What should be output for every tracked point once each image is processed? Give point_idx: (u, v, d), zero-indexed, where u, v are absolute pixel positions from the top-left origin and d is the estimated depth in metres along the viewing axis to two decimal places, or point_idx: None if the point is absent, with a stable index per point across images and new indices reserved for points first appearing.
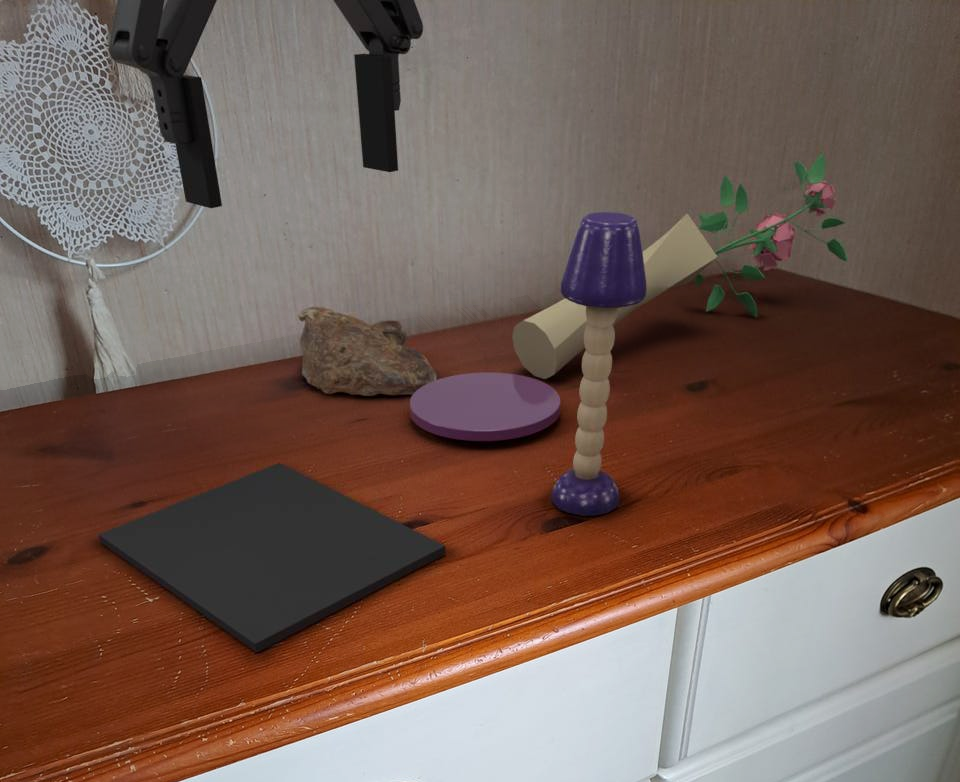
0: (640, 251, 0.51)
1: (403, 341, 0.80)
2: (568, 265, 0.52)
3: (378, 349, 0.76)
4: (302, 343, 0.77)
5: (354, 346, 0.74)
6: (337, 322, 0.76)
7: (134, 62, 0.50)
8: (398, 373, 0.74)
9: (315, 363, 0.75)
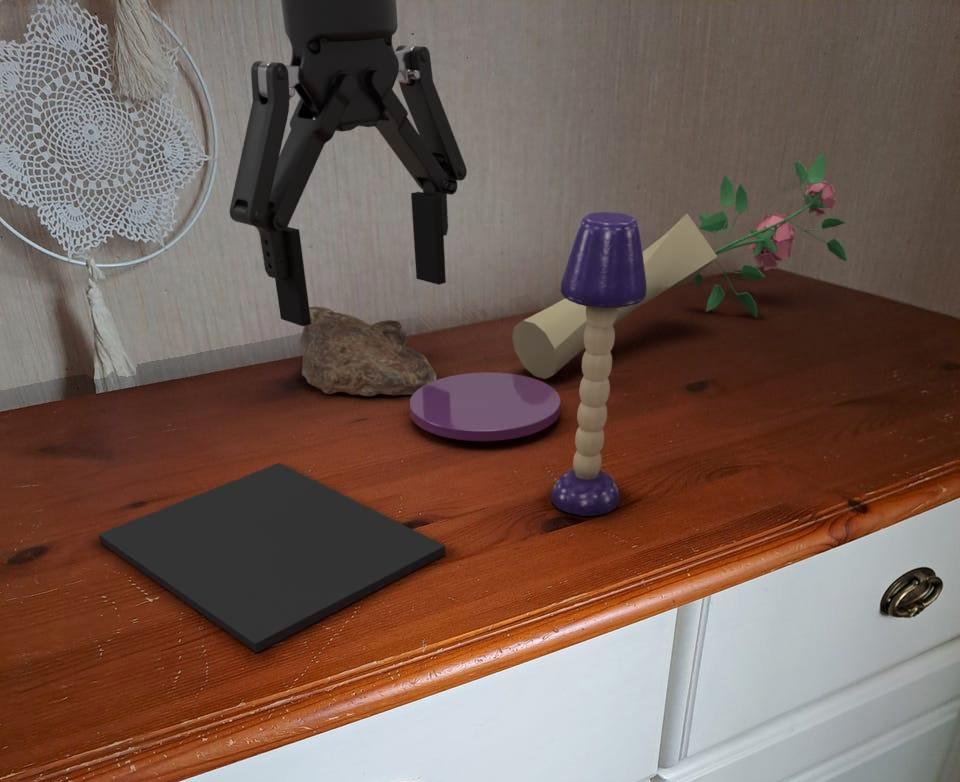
0: (640, 251, 0.51)
1: (403, 341, 0.80)
2: (568, 265, 0.52)
3: (378, 349, 0.76)
4: (302, 343, 0.77)
5: (354, 346, 0.74)
6: (337, 322, 0.76)
7: (250, 223, 0.65)
8: (398, 373, 0.74)
9: (315, 363, 0.75)
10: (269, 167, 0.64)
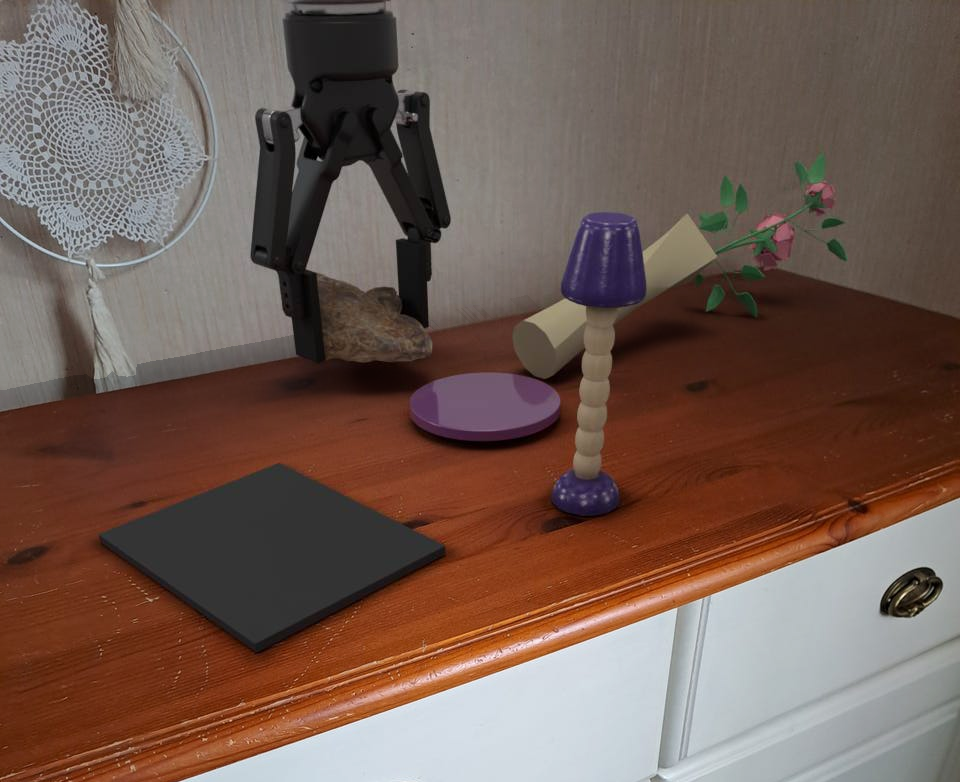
0: (640, 251, 0.51)
1: (398, 308, 0.79)
2: (568, 265, 0.52)
3: (373, 315, 0.75)
4: None
5: (349, 311, 0.73)
6: (332, 287, 0.75)
7: (270, 268, 0.67)
8: (394, 339, 0.73)
9: None
10: (283, 213, 0.66)
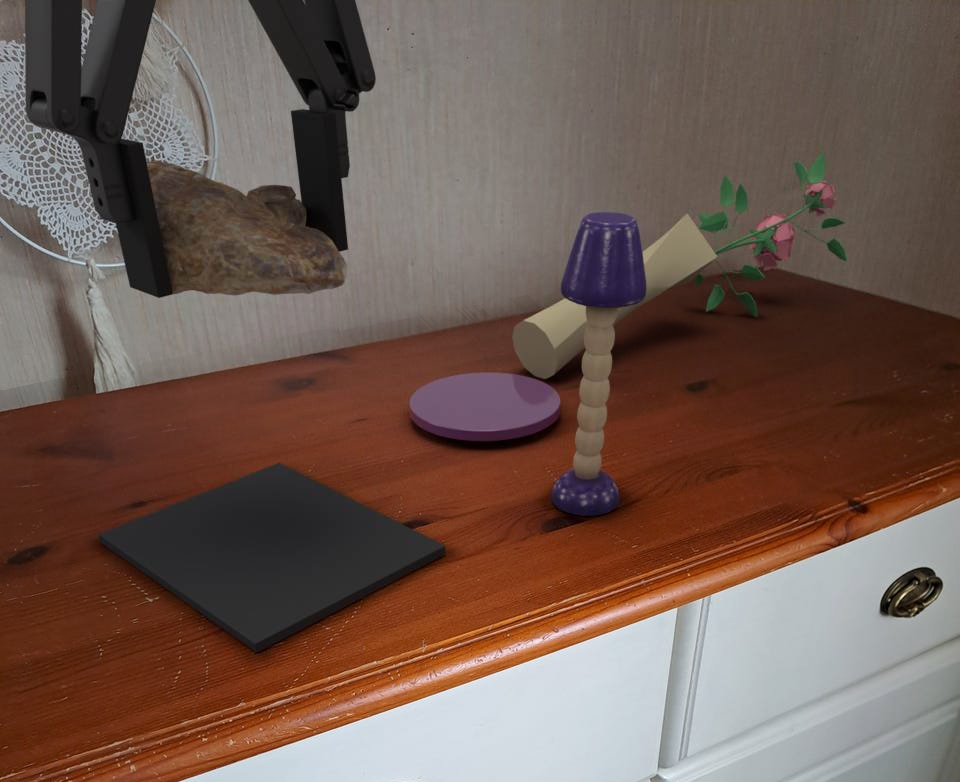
0: (640, 251, 0.51)
1: (299, 219, 0.51)
2: (568, 265, 0.52)
3: (252, 223, 0.47)
4: None
5: (208, 213, 0.46)
6: (186, 181, 0.48)
7: (56, 128, 0.40)
8: (281, 257, 0.46)
9: None
10: (68, 28, 0.39)
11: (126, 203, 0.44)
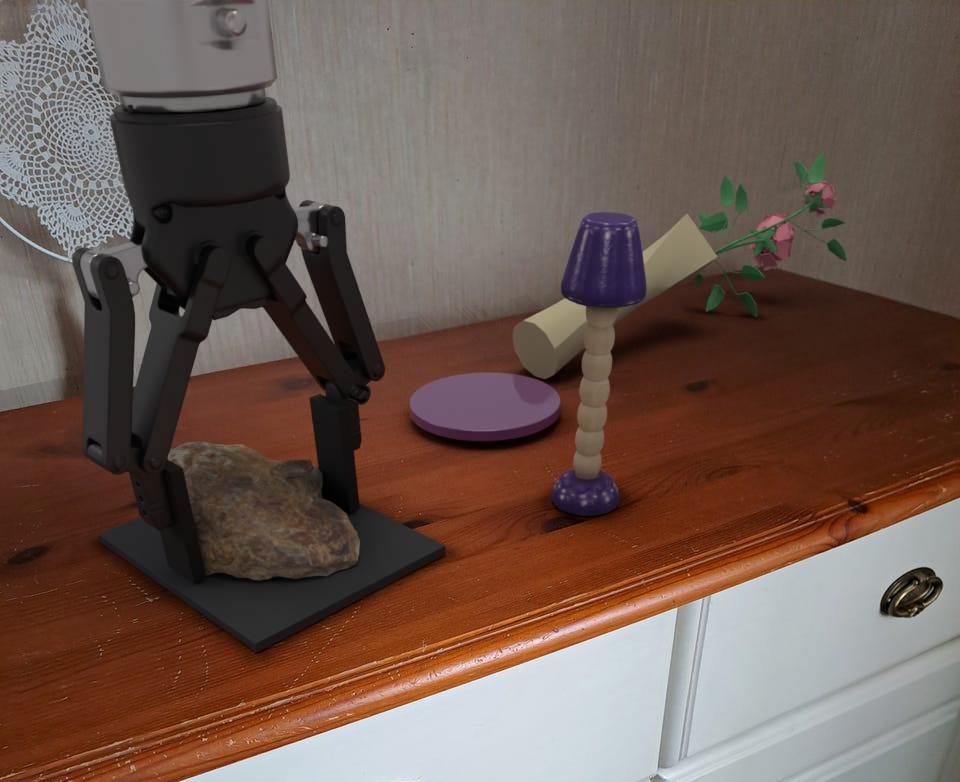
0: (640, 251, 0.51)
1: (317, 486, 0.57)
2: (568, 265, 0.52)
3: (276, 509, 0.53)
4: None
5: (238, 510, 0.52)
6: (218, 470, 0.54)
7: (109, 471, 0.46)
8: (302, 549, 0.52)
9: None
10: (122, 396, 0.45)
11: (167, 513, 0.50)
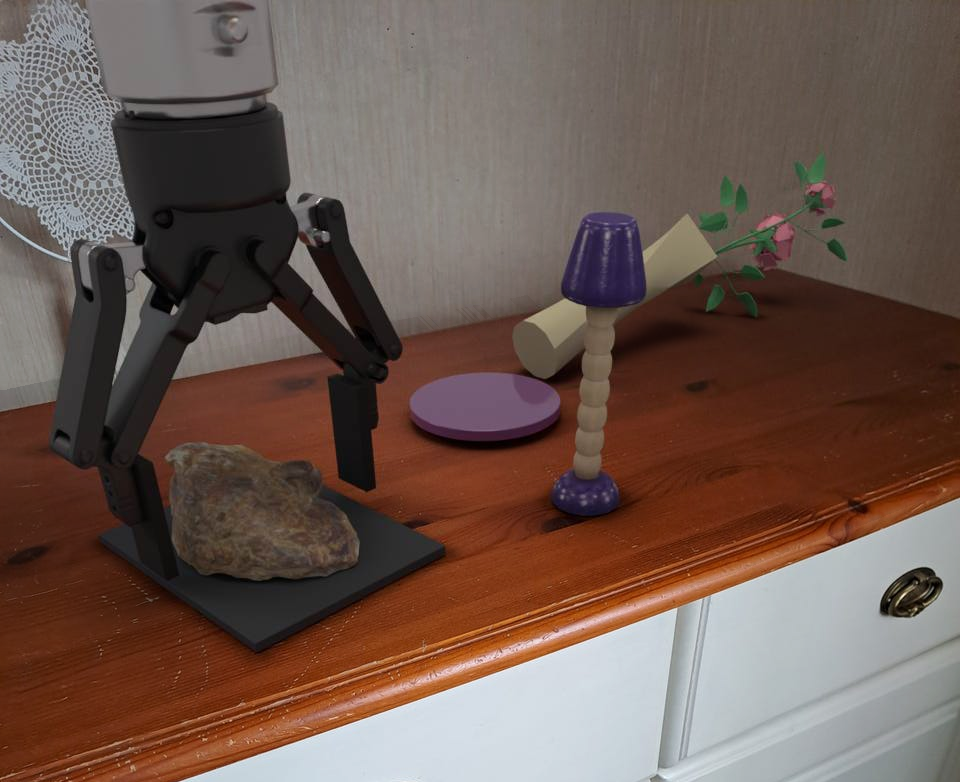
0: (640, 251, 0.51)
1: (316, 487, 0.57)
2: (568, 265, 0.52)
3: (275, 510, 0.53)
4: (170, 498, 0.55)
5: (238, 510, 0.52)
6: (217, 471, 0.54)
7: (76, 466, 0.45)
8: (301, 549, 0.52)
9: (185, 531, 0.53)
10: (100, 389, 0.44)
11: (138, 509, 0.48)
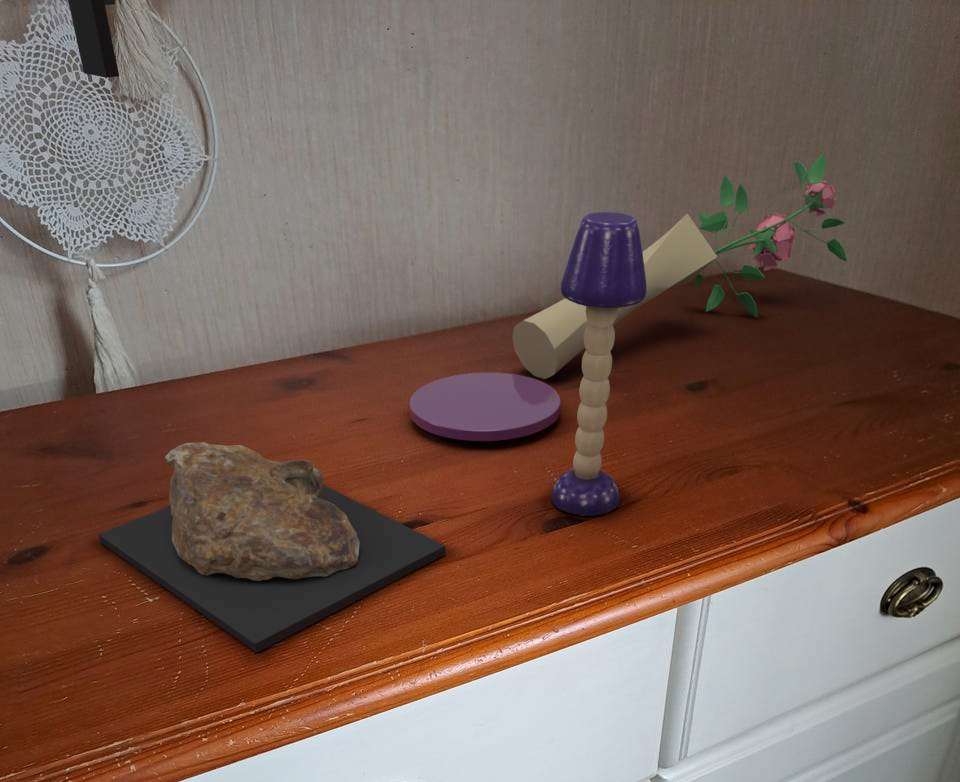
0: (640, 251, 0.51)
1: (316, 487, 0.57)
2: (568, 265, 0.52)
3: (275, 510, 0.53)
4: (170, 498, 0.55)
5: (238, 510, 0.52)
6: (217, 471, 0.54)
7: None
8: (301, 549, 0.52)
9: (185, 531, 0.53)
10: None
11: None
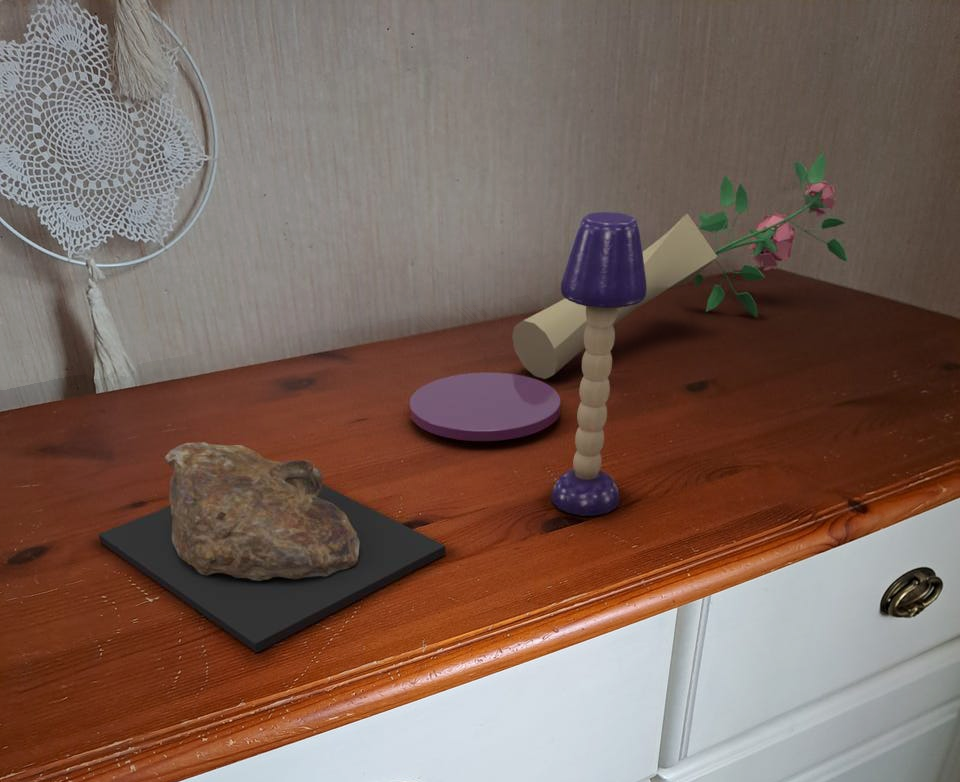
0: (640, 251, 0.51)
1: (316, 487, 0.57)
2: (568, 265, 0.52)
3: (275, 510, 0.53)
4: (170, 498, 0.55)
5: (238, 510, 0.52)
6: (217, 471, 0.54)
7: None
8: (301, 549, 0.52)
9: (185, 531, 0.53)
10: None
11: None
